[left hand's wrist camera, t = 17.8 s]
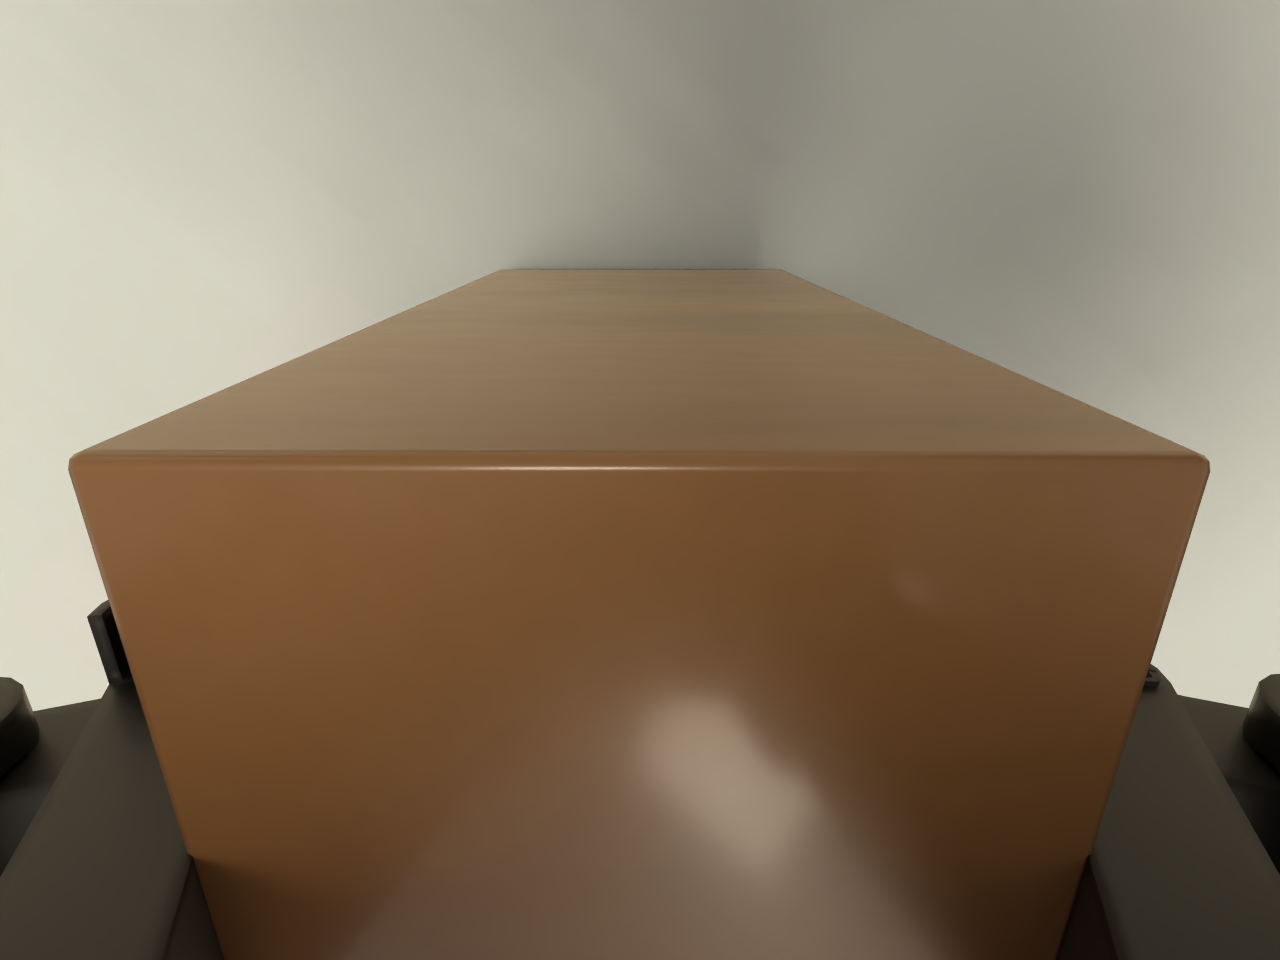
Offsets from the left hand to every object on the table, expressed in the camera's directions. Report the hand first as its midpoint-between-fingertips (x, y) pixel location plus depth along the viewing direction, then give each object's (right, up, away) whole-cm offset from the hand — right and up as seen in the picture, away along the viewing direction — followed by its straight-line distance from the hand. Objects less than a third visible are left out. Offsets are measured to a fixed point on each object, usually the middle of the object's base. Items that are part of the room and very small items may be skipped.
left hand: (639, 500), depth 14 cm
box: (0, -6, +6) cm, 9 cm away
